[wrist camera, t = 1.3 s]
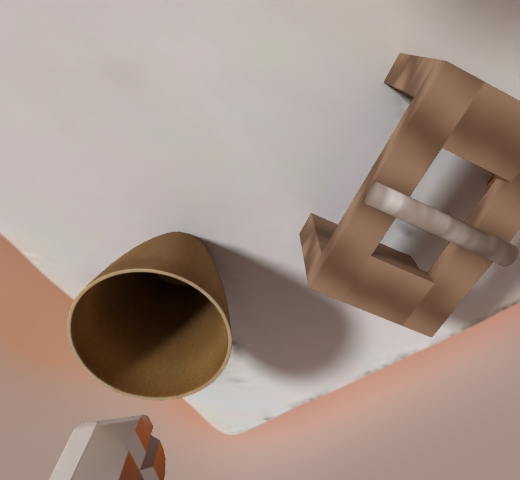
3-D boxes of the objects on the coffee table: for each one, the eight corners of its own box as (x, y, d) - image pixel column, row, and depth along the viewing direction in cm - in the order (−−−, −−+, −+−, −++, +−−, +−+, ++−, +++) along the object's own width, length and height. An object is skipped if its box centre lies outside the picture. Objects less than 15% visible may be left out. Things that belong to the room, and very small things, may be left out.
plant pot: (237, 309, 56) (228, 404, 42) (125, 302, 56) (77, 396, 41) (243, 204, 49) (234, 276, 35) (115, 196, 49) (54, 265, 35)
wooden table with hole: (399, 53, 42) (457, 63, 30) (512, 113, 45) (610, 146, 32) (299, 233, 51) (311, 300, 38) (398, 275, 54) (439, 350, 41)
